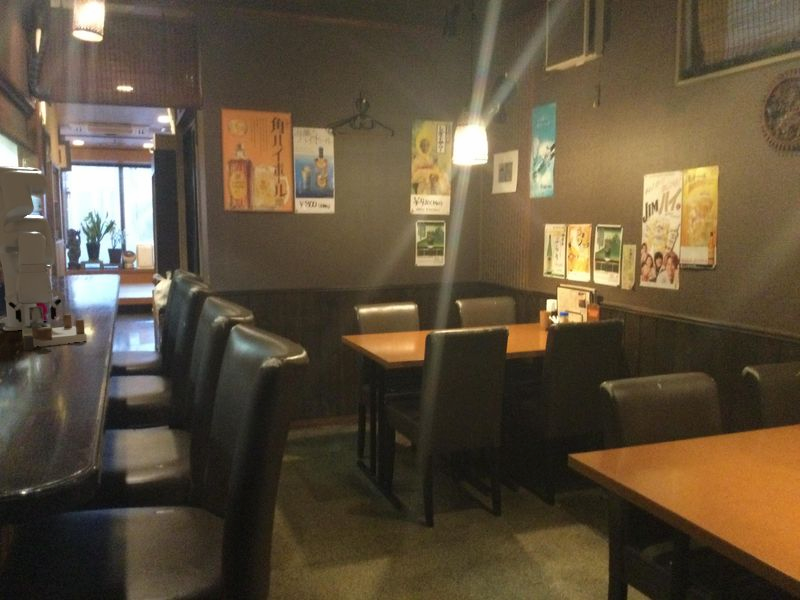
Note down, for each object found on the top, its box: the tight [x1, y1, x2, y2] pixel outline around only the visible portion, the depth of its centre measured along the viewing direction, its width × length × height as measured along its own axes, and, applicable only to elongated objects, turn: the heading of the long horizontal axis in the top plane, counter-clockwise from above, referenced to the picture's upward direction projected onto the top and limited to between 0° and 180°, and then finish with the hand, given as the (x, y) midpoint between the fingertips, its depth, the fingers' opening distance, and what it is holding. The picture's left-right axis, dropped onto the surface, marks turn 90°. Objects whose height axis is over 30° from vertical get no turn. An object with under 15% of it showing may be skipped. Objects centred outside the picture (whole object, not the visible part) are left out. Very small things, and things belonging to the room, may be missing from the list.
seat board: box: [21, 314, 87, 352], centre depth 208 cm, size 28×18×7 cm, turn 36°
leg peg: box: [29, 307, 45, 328], centre depth 214 cm, size 4×4×8 cm
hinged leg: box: [32, 327, 52, 341], centre depth 197 cm, size 2×10×4 cm, turn 46°
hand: (36, 320), depth 214 cm, fingers open, 9 cm apart
